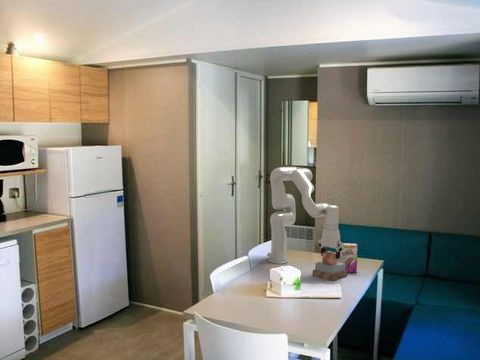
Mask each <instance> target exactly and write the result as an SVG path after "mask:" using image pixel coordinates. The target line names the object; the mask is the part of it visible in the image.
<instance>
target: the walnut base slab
mask: <svg viewBox="0 0 480 360" xmlns="http://www.w3.org/2000/svg"><path fill="white" fill-rule="evenodd" d="M312 277H315V278H319V279H322V280H323V279H324V280H328V281H331V282H335V281H338V280H341V279H343V278H346V277H348V272H347V270H345V271H342V272H339V273H336V274H329V273H325V272H321V271H318V270H315V269H313V270H312Z"/></svg>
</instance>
